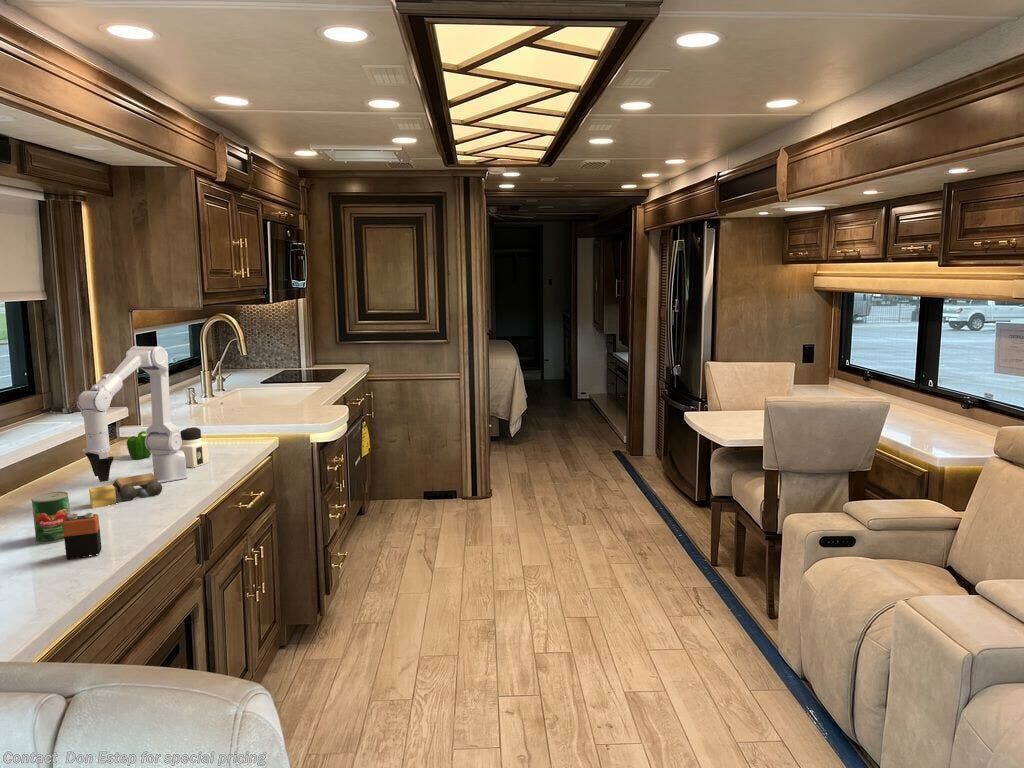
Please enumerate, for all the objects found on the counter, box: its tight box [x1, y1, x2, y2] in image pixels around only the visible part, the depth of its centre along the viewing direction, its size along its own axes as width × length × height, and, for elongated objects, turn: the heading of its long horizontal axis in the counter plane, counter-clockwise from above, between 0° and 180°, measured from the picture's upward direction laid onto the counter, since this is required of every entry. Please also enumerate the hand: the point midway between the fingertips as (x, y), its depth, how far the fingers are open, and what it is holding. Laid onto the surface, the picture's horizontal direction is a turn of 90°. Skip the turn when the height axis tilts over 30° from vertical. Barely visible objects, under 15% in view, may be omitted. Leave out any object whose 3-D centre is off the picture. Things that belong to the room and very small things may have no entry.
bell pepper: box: [126, 430, 152, 460], centre depth 266 cm, size 8×8×10 cm
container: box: [179, 427, 210, 469], centre depth 255 cm, size 8×8×13 cm
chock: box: [88, 484, 119, 509], centre depth 212 cm, size 7×4×5 cm, turn 128°
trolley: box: [112, 472, 163, 502], centre depth 222 cm, size 11×11×5 cm
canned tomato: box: [30, 491, 71, 544], centre depth 184 cm, size 8×8×11 cm
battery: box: [63, 512, 102, 560], centre depth 173 cm, size 4×7×10 cm, turn 111°
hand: (101, 478), depth 211 cm, fingers open, 7 cm apart
